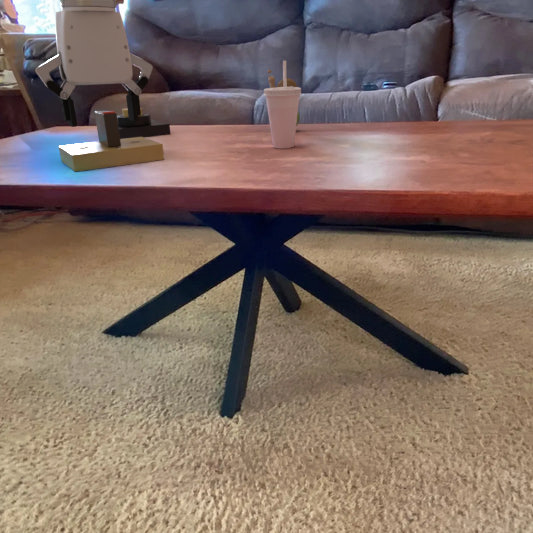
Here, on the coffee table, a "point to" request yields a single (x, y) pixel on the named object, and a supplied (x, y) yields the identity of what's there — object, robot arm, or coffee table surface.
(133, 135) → the block
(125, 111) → the bell button
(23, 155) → the coffee table surface
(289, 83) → the snail figurine
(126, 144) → the plate
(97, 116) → the lock turn
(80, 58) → the robot arm
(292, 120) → the smoothie
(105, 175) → the coffee table surface
